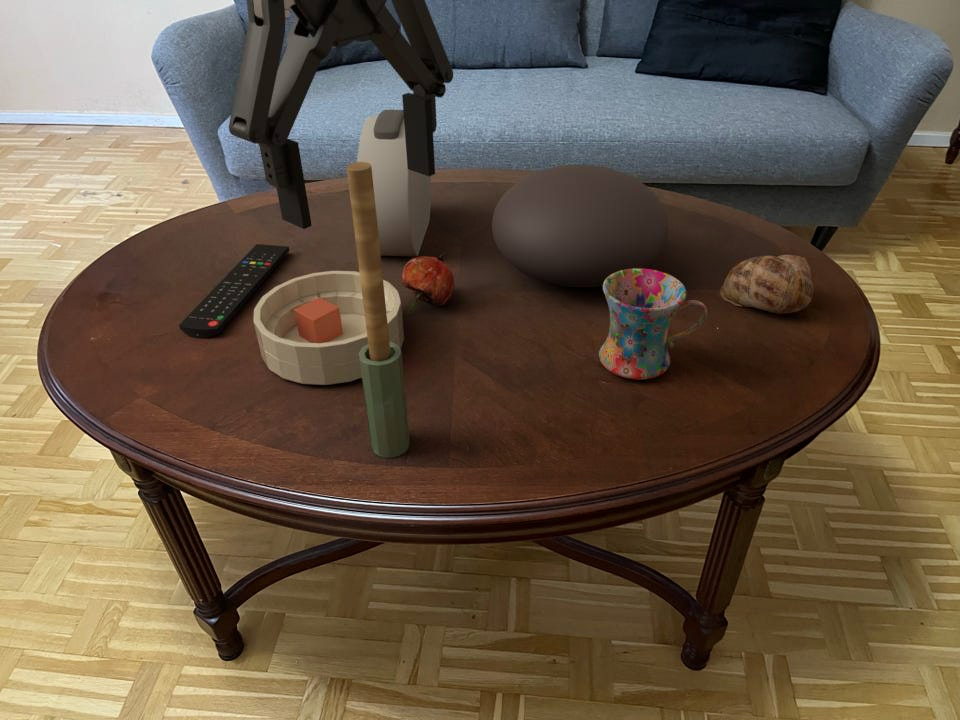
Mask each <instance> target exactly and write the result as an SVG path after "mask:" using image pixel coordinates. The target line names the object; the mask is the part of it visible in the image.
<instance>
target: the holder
mask: <svg viewBox="0 0 960 720" xmlns="http://www.w3.org/2000/svg"><path fill="white" fill-rule="evenodd" d="M389 343H390V352H391V358H390V359H388V360H385V361H380V362H378V361H371V360H370V354H369V345H368V344H367V345H366V346H364V347H362V349H361V350H360V352H359V362H360V369H361V376H362V378H361V382H362V391H363V398H364V405H365V413H366V420H367V428H368V436H369V442H370V443H369V444H370V446H371V451H372V452H373V453H374V454H375V455H376V456H378V457H379V458H385V459H392V458H397V457H399V456H402V455H403V454H405V453H406V451H408V449H409V447H410V431H409V430H410V429H409V419H408V408H407V397H406V386H405V376H404V365H403V352H402V349H401V350H400V347H399V346H398V345H396V344H394V343H393V342H389Z"/></svg>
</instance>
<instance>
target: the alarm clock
mask: <svg viewBox="0 0 960 720" xmlns="http://www.w3.org/2000/svg"><path fill="white" fill-rule="evenodd" d="M356 162H367V163H370V164H371V167H372V177H373V186H374V196H375V206H376V216H377V225H378V235H379V245H380V255H381V257H388V256H389V257H411V258H417V257H419V253H420V250H421V248H422V245H423V242H424V238H425V236H426V233H427V231H428V227H429V224H430V219H431V201H432V200H431V199H432V176H426V175H423V174H420V173H417V172H414V171H412V170H409V169H408V167H407V153H406V140H405V126H404V113H403V109H384V110H382V111H380V113H379V114H378V115H370V116H368V117H367V119H365V122H364V124H363V127H362V130H361V133H360V137H359V143H358V151H357V158H356Z"/></svg>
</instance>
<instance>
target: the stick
mask: <svg viewBox="0 0 960 720" xmlns="http://www.w3.org/2000/svg"><path fill="white" fill-rule="evenodd" d="M346 175H347V183H348V190H349V198H350V206H351V207H350V208H351V216H352V224H353V232H354V239H355V247H356V256H357V263H358V270H359V271H358V272H359V273H360V281H361V289H362V297H363V305H364V313H365V321H366V329H367V337H368V345H369V354H370V360H371V361H378V362H380V361H385V360H388V359H390V358H391V352H390V343H389V333H388V323H387V313H386V304H385V294H384V284H383V280H384V275H383V265H382V256H381V255H380V245H379V235H378V225H377V216H376V206H375V196H374V186H373V177H372V167H371V164H370V163H367V162H357V161H355V162H351V163H349V164H347V165H346Z"/></svg>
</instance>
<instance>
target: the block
mask: <svg viewBox="0 0 960 720" xmlns="http://www.w3.org/2000/svg"><path fill="white" fill-rule="evenodd" d="M294 312H295V317H296V322H297V327H298V332H299V336H300V337H302V338H304V339H305V340H307V341H309V342H311V343H326V342H329V341H331V340H333V339H334V338H336V337H338V336H340V335H342V334H343V330H342V324H341V317H340V310H339V307H337V306H335V305H333V304H331V303H329V302H328V301H326V300H324V299H322V298H320V297H319V298H316V299H314V300H312V301H310V302H308V303H306V304H304V305H302V306H300V307H298V308H296V309H294Z"/></svg>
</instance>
